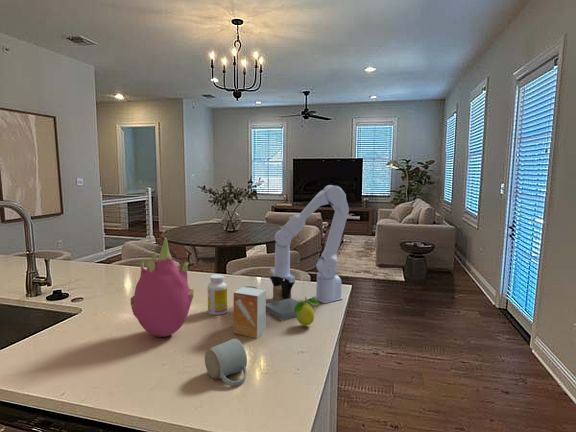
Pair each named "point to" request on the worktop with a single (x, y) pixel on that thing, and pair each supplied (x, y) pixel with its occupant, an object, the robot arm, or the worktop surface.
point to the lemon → (305, 312)
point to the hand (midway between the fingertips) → (281, 296)
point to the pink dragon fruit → (162, 295)
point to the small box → (249, 312)
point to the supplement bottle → (217, 295)
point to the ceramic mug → (226, 361)
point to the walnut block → (278, 293)
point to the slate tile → (282, 308)
